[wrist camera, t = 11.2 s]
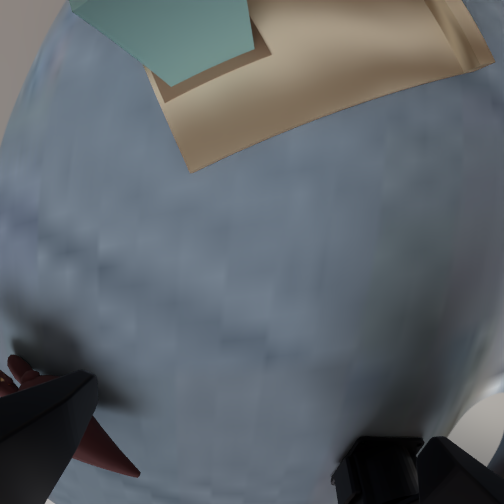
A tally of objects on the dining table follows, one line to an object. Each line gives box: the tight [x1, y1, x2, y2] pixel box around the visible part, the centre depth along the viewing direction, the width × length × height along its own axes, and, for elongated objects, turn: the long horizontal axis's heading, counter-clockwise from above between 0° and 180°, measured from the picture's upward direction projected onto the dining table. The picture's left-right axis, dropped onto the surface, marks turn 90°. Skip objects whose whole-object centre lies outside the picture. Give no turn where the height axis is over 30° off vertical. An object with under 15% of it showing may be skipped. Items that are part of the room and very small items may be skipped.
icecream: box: [0, 355, 141, 478], centre depth 19 cm, size 7×7×15 cm
